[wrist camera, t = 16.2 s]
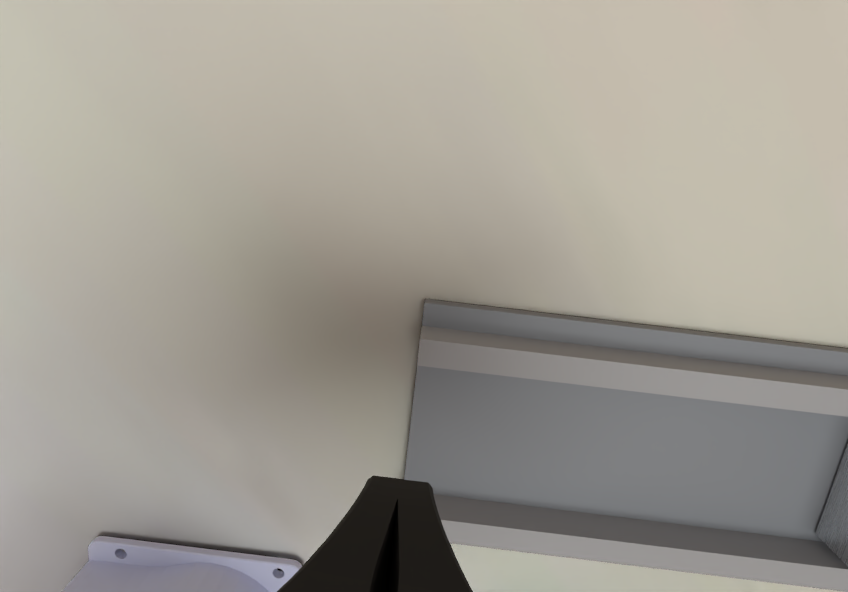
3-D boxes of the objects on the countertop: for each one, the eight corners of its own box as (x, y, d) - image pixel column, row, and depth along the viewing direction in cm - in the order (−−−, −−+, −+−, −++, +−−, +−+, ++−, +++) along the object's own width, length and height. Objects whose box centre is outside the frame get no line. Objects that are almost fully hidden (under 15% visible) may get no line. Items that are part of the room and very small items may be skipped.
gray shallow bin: (399, 519, 22) (391, 586, 19) (425, 298, 20) (420, 327, 16) (919, 583, 22) (1009, 662, 19) (1014, 368, 19) (1137, 412, 16)
